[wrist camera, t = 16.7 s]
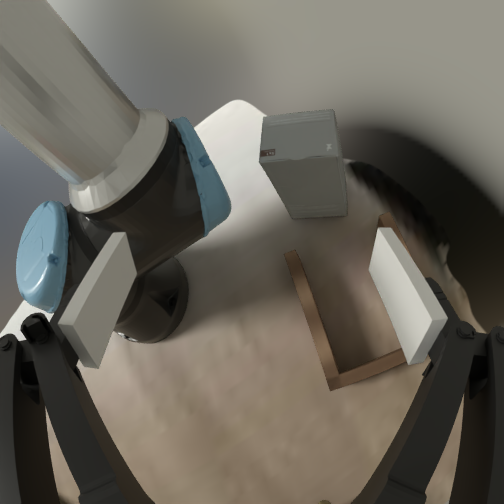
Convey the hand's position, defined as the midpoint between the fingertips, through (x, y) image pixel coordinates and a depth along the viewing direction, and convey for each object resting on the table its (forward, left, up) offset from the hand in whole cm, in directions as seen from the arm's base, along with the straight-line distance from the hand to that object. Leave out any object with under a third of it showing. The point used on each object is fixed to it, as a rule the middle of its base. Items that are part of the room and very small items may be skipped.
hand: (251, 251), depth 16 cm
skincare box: (-13, +10, -26) cm, 31 cm away
